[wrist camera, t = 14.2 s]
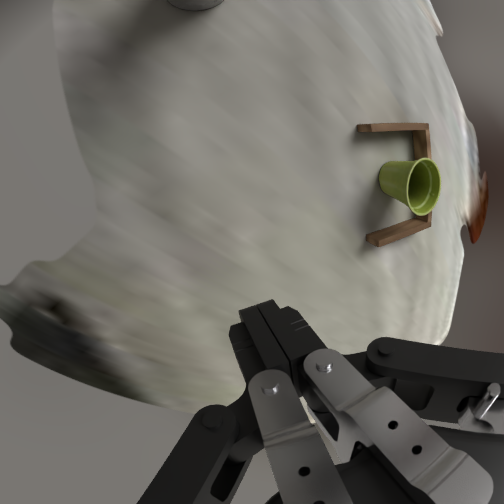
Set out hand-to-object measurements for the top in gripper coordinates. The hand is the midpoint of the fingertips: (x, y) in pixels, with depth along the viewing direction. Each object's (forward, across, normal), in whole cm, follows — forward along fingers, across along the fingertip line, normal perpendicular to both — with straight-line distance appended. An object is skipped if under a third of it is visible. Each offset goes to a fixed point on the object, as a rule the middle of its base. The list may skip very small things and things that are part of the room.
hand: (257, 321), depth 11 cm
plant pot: (+27, -33, +3) cm, 43 cm away
